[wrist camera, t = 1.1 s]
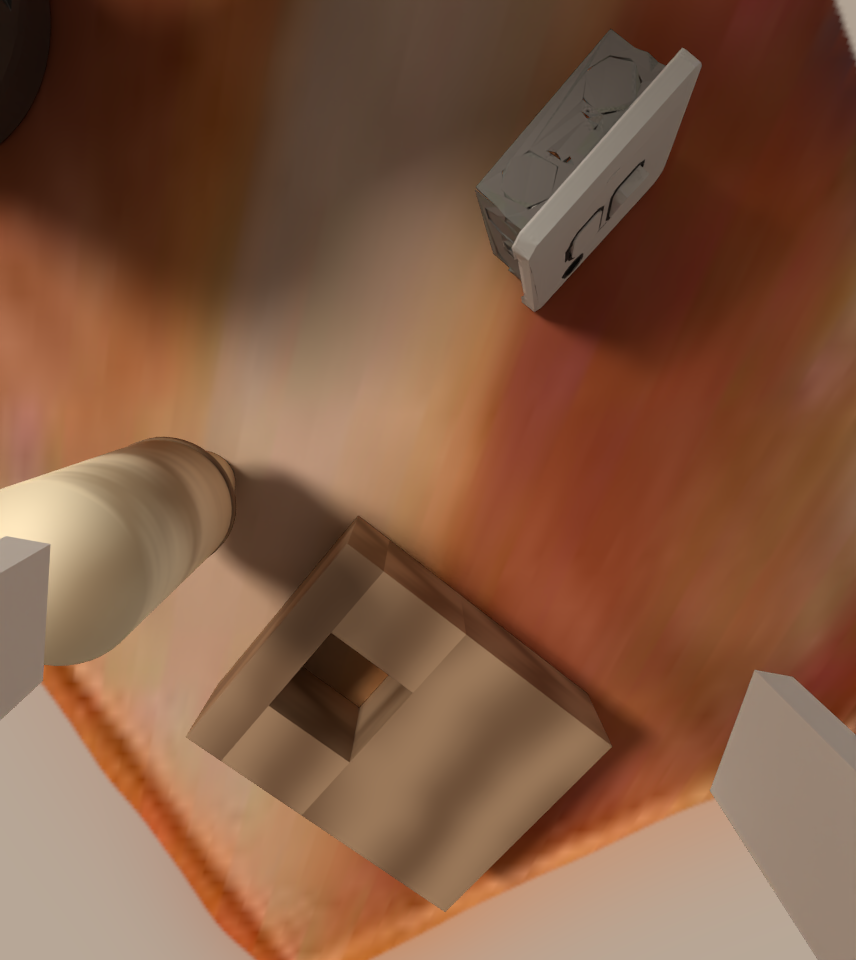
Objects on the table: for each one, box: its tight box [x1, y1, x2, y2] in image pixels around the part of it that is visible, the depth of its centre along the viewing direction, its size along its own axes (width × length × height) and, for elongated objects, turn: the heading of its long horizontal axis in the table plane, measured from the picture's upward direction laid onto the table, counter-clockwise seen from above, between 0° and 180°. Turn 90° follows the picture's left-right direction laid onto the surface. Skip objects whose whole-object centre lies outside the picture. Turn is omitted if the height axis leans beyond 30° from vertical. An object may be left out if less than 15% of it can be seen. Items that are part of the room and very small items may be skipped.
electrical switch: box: [475, 29, 702, 312], centre depth 27 cm, size 9×5×9 cm, turn 138°
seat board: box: [186, 516, 612, 912], centre depth 34 cm, size 18×14×5 cm
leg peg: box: [0, 437, 236, 666], centre depth 27 cm, size 6×6×14 cm
